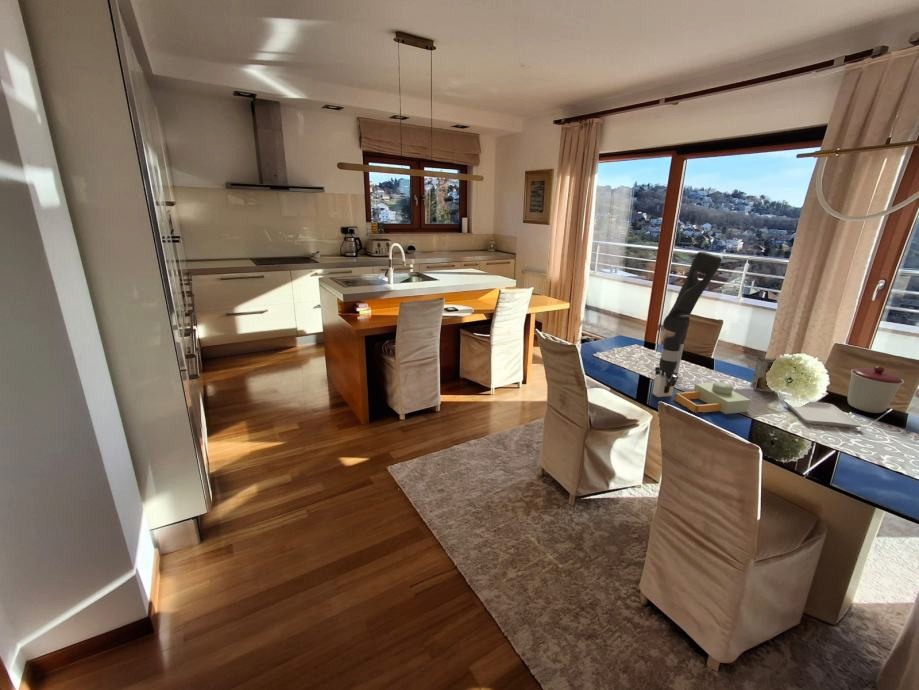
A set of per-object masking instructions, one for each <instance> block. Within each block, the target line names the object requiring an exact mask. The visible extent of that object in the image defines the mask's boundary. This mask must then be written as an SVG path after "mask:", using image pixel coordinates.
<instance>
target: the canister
mask: <svg viewBox="0 0 919 690" xmlns="http://www.w3.org/2000/svg"><path fill="white" fill-rule="evenodd" d="M850 373H851V375H850V381H849V385H848V392H847V403H848V405H849V406H850V407H852V408H854V409H856V410H859V411H862V412H867V413H871V414H881V413H884V412H885V411H886V410H887V409H888V408H889V406H890V404H891V403H892V401H893V400H894V398H895V397H896V394H897V393H898V391H899V389H900V387H901V386H902V385H903V384H904V383H905V381H904V379H902V378H901V377H900V376H898V375H897V374H894V373H891V372H889V371H886V370H885V368H884V367H883V366H881V365H876V366H874V367H873V368H869V367H857V368H852V369H851V370H850Z"/></svg>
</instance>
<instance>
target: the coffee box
mask: <svg viewBox="0 0 919 690" xmlns="http://www.w3.org/2000/svg"><path fill="white" fill-rule="evenodd" d="M776 359H777V358H775V357H774V358H773V357H762V356H761V357H760V356H758V357H757V360H756V364H755V368H754V372H753V375H752V376H753V377H752V380H751V384H750V386H751V387H752V389H753V390H754V391H759V392H767V393H768V392H769V393H774V392H773V391H772V390H771V389H770V388H769V387H768V385H767V381H766V373H767V372H768V371H769V370H770V368H771V366H772V364H773V362H774V361H775V360H776Z"/></svg>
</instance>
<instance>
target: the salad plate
mask: <svg viewBox="0 0 919 690" xmlns="http://www.w3.org/2000/svg"><path fill="white" fill-rule="evenodd" d="M784 399H785V398H782V399H781V400H782V402H783V403H784V405H786V406H787V407H788V408H789V409H790V410H791V411H792V412H794V413H795V414H796V415H797V416H798V417H800V419H802V421H804V422H805V423H808V424H812V425H813V424H814V425H821V426H831V427H839V428H840V427H841V428H851V429H853V428H854V429H855V428H859V427H861V426H862V424H861V423H859V422H858V421H856V420H855V419H854V418H852V417H851V416H849V415H848V414H847V413H845V411H843V410H841V409H840V408H838V407H837V406H836V405H835V404H832V403H828V402H820V401H812V402H809V403H807V404H805V405H803V406H801V407H792V406H791V405H789V404H788V403H787V402H785V401H784Z"/></svg>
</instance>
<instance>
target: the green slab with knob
mask: <svg viewBox="0 0 919 690" xmlns="http://www.w3.org/2000/svg"><path fill="white" fill-rule="evenodd" d="M733 389H734V387H733V386H732V385H731V384H729V383H727V382H719V381H715V382H702V383H695V384H694V387H693V391H685V392H684V391H683V392H675V394H674V398H673V400H674V401H675V402H677V403H679V404H680V405H682V406H683V407H685V408H686V407H687V408H686V409H688V410H690V411H691V412H693V413H694V412H695V413H694V414H698V413H697V412H703V413H711V412H721V413H722V414H725V415H727V414H728V415H729V414H738V413H748V410H749V407H750V403H751V399H750V398H748V397H746V396H744V395H742V394H740V393H738V392H737V391H734V390H733ZM697 399H698V400H701V401H702V402H704V403H705V404H697V403H695V402H693V401H692V400H697Z"/></svg>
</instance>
